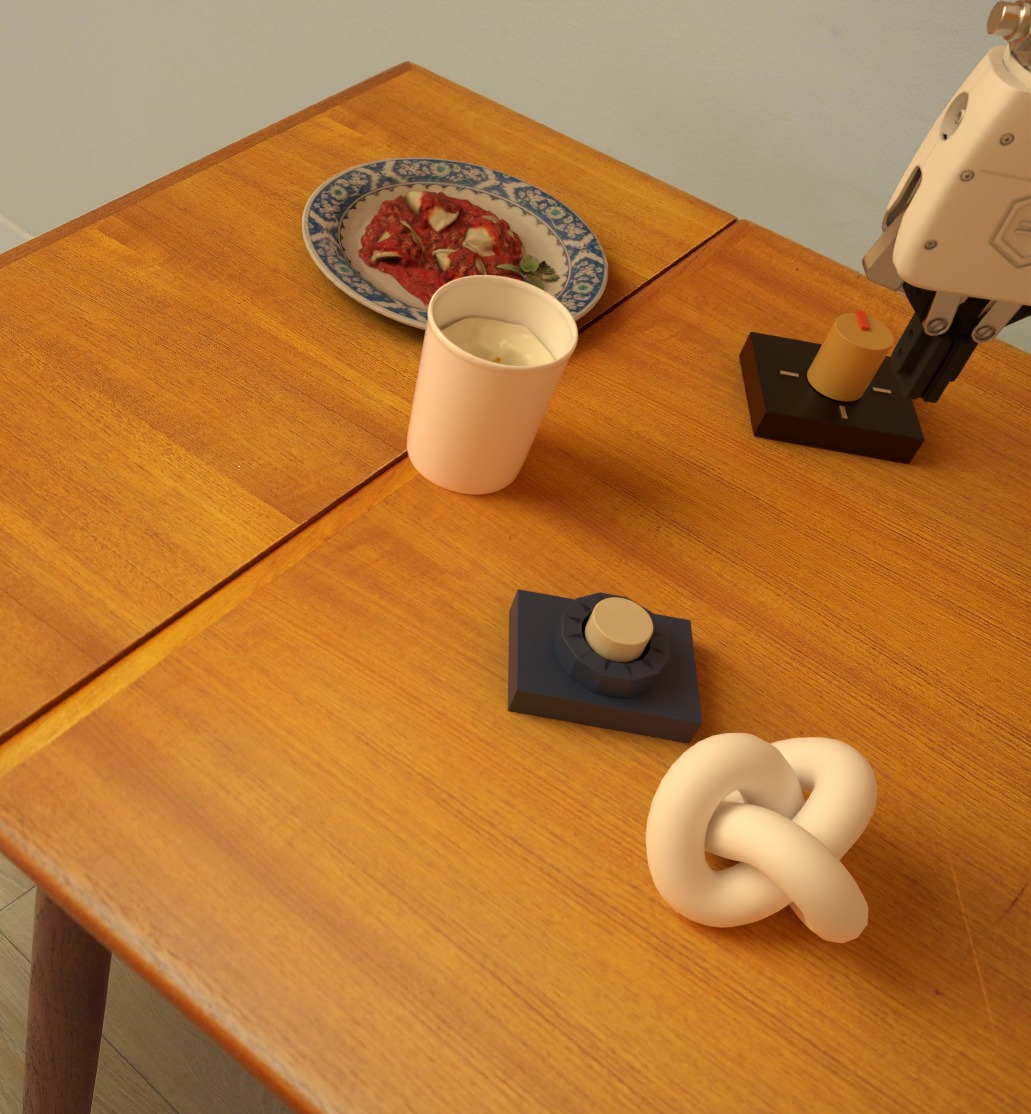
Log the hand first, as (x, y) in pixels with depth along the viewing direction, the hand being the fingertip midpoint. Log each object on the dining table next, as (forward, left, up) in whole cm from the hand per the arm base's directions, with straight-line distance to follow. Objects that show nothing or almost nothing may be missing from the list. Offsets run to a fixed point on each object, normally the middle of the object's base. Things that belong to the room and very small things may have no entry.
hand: (913, 383), depth 66 cm
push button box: (+11, +6, -21) cm, 24 cm away
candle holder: (+20, -12, -21) cm, 31 cm away
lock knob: (-8, -25, -18) cm, 32 cm away
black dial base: (-8, -25, -21) cm, 34 cm away
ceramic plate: (+22, -36, -21) cm, 47 cm away
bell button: (+11, +6, -17) cm, 21 cm away
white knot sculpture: (+4, +18, -21) cm, 28 cm away
